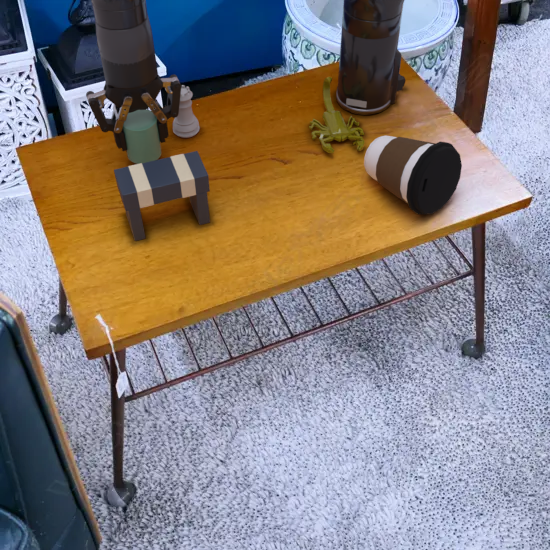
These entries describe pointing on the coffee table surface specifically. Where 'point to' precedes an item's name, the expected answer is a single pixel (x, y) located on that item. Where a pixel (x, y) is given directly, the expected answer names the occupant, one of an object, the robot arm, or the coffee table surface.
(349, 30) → the robot arm
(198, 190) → the barricade
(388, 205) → the coffee table surface
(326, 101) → the scorpion
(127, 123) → the mint green cylinder
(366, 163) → the coffee cup
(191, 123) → the rook chess piece
